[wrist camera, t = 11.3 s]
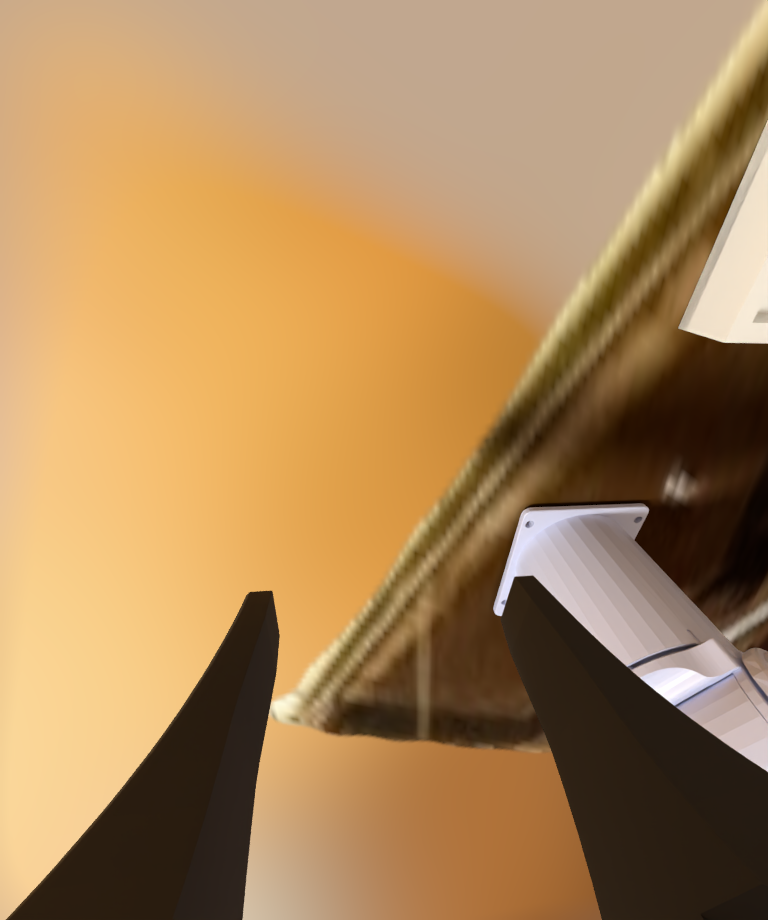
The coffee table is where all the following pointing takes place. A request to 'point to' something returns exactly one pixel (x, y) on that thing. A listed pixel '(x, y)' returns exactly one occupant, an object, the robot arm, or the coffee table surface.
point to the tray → (737, 266)
